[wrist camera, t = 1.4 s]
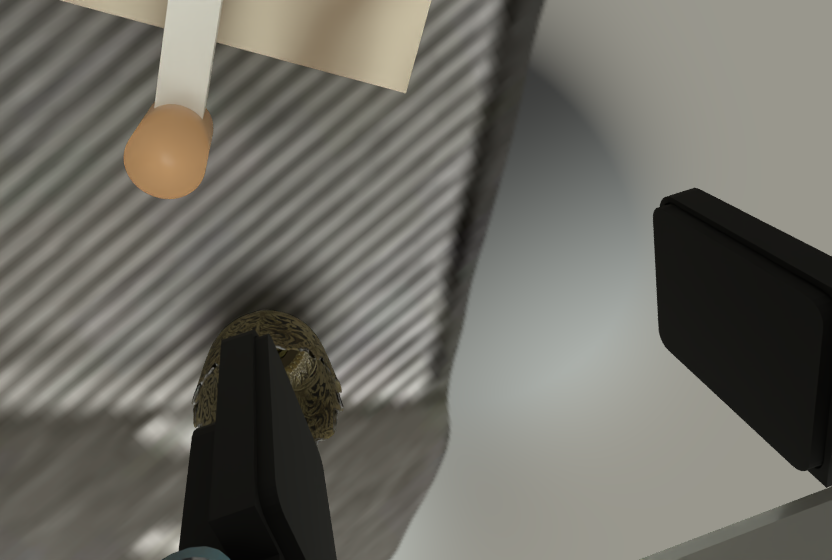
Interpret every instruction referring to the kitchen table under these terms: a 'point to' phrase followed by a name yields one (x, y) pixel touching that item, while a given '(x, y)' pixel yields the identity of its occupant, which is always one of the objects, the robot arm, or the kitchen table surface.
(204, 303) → the kitchen table surface
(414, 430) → the kitchen table surface
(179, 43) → the crank handle
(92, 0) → the post board
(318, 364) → the cup
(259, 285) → the kitchen table surface
